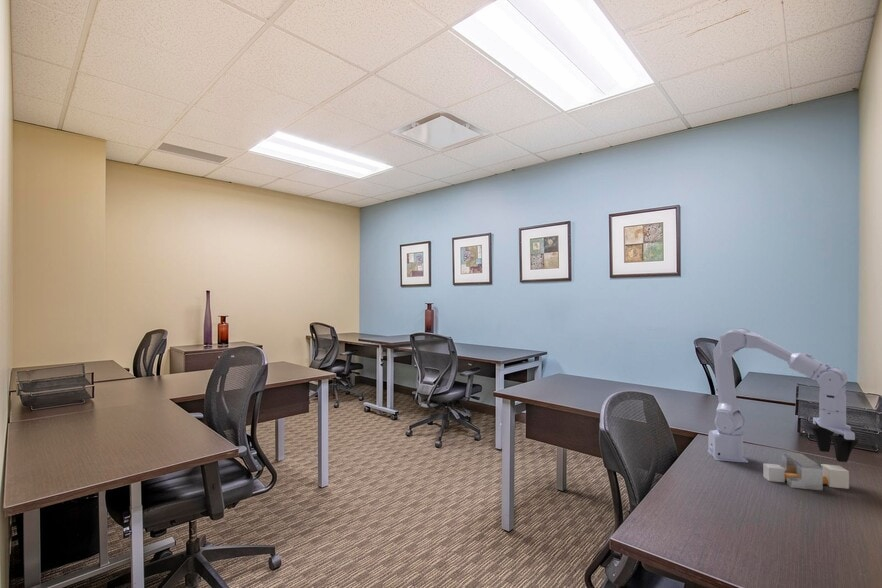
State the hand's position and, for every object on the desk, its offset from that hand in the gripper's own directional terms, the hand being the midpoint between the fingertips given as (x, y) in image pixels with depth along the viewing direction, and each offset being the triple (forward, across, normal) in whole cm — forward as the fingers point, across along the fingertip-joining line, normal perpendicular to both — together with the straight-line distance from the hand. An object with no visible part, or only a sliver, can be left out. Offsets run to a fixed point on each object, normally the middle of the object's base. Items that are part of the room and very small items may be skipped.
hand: (832, 456), depth 120 cm
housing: (+8, 0, +9) cm, 12 cm away
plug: (+8, 0, +7) cm, 11 cm away
